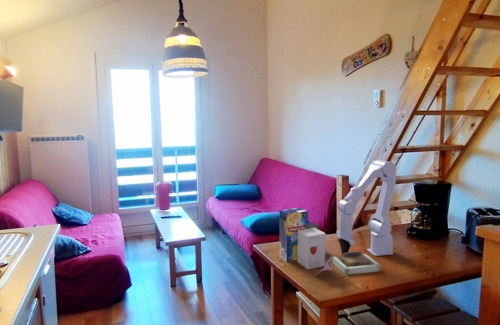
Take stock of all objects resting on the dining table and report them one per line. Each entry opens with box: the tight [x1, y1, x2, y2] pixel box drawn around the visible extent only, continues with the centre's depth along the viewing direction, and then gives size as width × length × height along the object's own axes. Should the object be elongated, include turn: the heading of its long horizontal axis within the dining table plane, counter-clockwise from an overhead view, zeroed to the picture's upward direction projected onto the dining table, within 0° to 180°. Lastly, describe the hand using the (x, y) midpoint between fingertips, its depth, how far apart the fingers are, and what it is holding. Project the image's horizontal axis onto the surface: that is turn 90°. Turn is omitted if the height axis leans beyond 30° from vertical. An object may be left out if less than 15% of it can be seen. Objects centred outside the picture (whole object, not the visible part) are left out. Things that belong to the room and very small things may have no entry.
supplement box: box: [296, 228, 327, 270], centre depth 160 cm, size 9×9×15 cm
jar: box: [308, 222, 320, 230], centre depth 177 cm, size 9×8×12 cm
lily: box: [315, 253, 338, 279], centre depth 149 cm, size 12×12×10 cm
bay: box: [332, 253, 382, 276], centre depth 158 cm, size 16×12×2 cm
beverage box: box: [278, 207, 309, 263], centre depth 168 cm, size 7×11×22 cm, turn 115°
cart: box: [339, 251, 371, 267], centre depth 158 cm, size 11×7×6 cm, turn 101°
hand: (344, 254), depth 168 cm, fingers closed
